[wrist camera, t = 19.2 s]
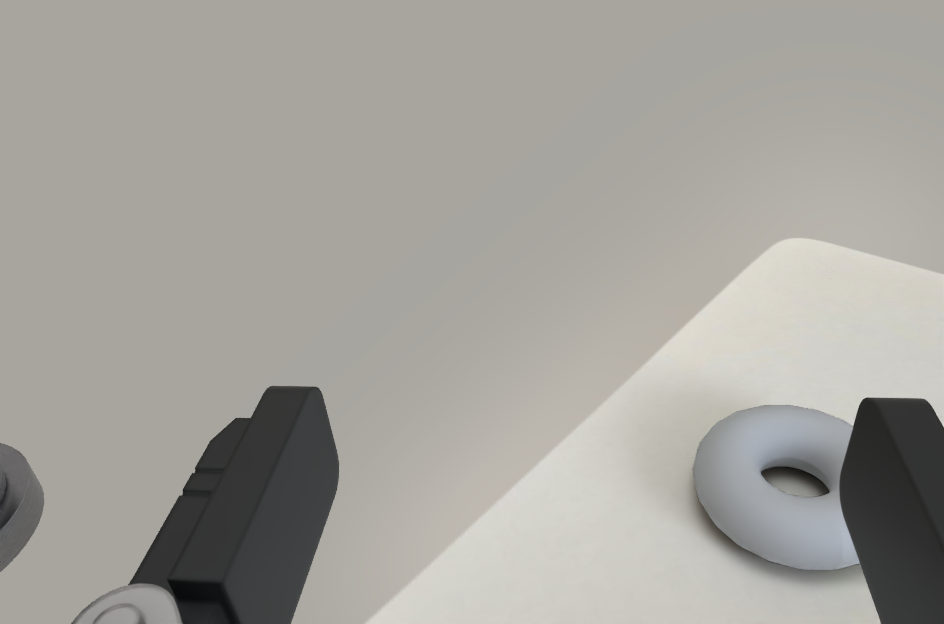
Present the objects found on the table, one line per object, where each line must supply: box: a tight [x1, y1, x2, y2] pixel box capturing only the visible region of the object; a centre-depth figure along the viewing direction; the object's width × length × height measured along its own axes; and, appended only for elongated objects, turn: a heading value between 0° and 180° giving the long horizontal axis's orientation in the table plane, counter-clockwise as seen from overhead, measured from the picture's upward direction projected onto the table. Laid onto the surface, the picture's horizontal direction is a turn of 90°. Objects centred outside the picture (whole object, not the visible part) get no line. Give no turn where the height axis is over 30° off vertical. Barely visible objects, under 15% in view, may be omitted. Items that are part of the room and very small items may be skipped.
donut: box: [693, 405, 860, 570], centre depth 38 cm, size 10×4×10 cm
